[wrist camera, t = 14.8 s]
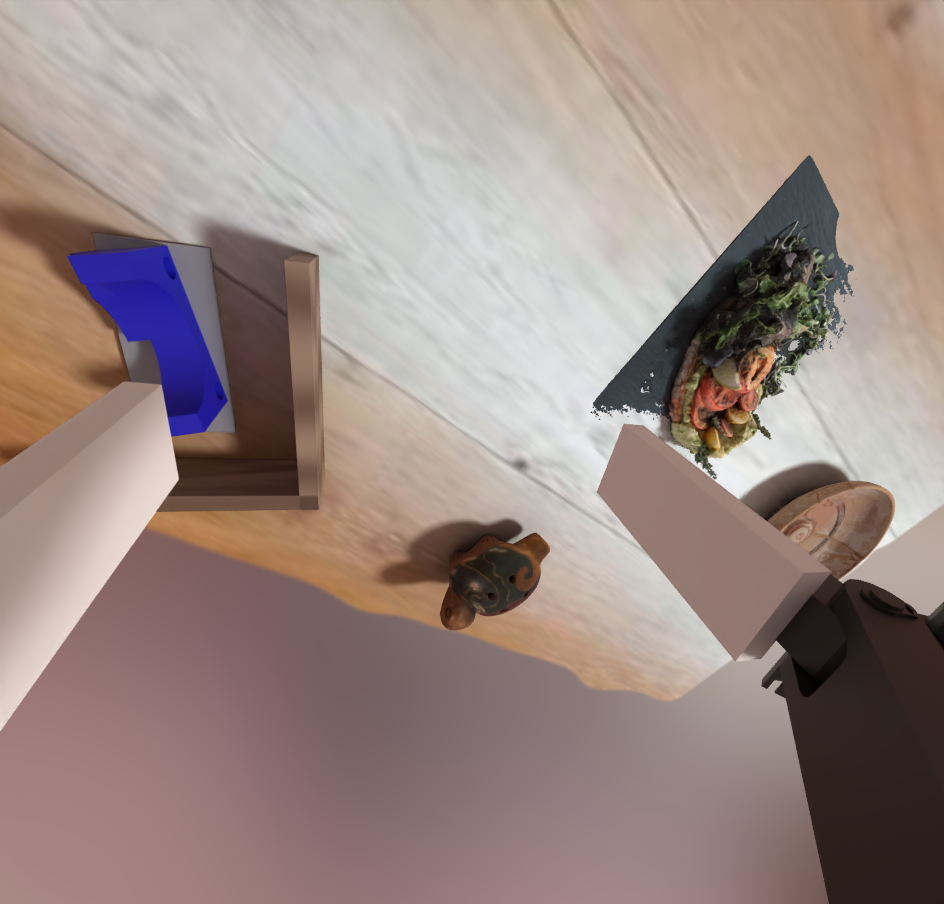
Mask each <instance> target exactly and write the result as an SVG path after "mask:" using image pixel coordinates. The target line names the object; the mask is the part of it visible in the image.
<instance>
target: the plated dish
mask: <svg viewBox="0 0 944 904" xmlns="http://www.w3.org/2000/svg"><path fill="white" fill-rule="evenodd" d="M838 218H839V213H838V210H837V208H836V206H835V204H834V203H833V200H832V198H831V196H830V193H829V192H828V190H827V187H826V185H825V183H824V181H823V179H822V177H821V175H820V173H819V170H818V168H817V166H816V165H815V162H814V161H813V159H812V158H811V156H810V155H809V156H808V157H807V158H806V159H805V160H804V161H803V162H802V163H801V164H800V165H799V166H798V168H797V169H796V170H795V171H794V172H793V173H792V175H791V176H790V177H789V178H788V179H787V180H786V181H785V182H784V184H783V185H782V186H781V187H780V188H779V189H778V190H777V192H776V193H775V194H774V195H773V196H772V197H771V199H770V200H769V201H768V202H767V203H766V204H765V206H763V207H762V209H761V210H760V211H759V212H758V213H757V214H756V216H755V217H754V218H753V219H752V220H751V221H750V223H749V224H748V225H747V226H746V227H745V228H744V229H743V230H742V232H741V233H740V234H739V235H738V236H737V237H736V239H735V240H734V241H733V242H732V243H731V244H730V245H729V247H728V248H727V249H726V250H725V251H724V252H723V253H722V255H720V257H719V258H718V259H717V260H716V262H715V263H714V264H713V265H712V266H711V267H710V269H709V270H708V271H707V272H706V273H705V274H704V275H703V276H702V277H701V279H700V280H699V281H698V282H697V283H696V284H695V286H694V287H693V288H692V289H691V290H690V291H689V292H688V293H687V295H686V296H685V297H684V298H683V299H682V300H681V302H680V303H679V304H678V305H677V306H676V307H675V308H674V310H673V311H672V312H671V313H670V314H669V315H668V316H667V318H666V319H665V320H664V321H663V322H662V323H661V325H660V326H659V327H658V328H657V329H656V330H655V331H654V332H653V334H652V335H651V336H650V337H649V338H648V340H647V341H646V342H645V343H644V344H643V345H642V346H641V348H640V349H639V350H638V351H637V352H636V353H635V355H634V356H633V357H632V358H631V359H630V360H629V362H627V364H626V365H625V366H624V367H623V368H622V369H621V370H620V372H619V373H618V374H617V375H616V376H615V377H614V379H613V380H612V381H611V382H610V383H609V384H608V385H607V387H606V388H605V389H604V390H603V392H601V394H600V395H599V396H598V397H597V398H596V400H595V402H593V404H594V405H593V406H594V407H595V408H597V409H595V410H598V411H600V410H601V411H602V412H603V410H604V412H605V413H607V410H608V411H610V410H616V409H617V411H618V412H619V410H620V409H622V408H624V407H623V405H625V404H627V406H629V407H630V410H631V407H632V408H635V409H636V410H635V411H636V412H637V413H640V412H642V410H643V411H644V413H645V411H646V410H648V411H650V413H652V412H653V413H655V414H656V413H657V414H658V415H660V414H662V415H663V416H665V415H666V416H665V417H667V419H669V417H668V415H669V416H670V420H671V428H670V429H671V430H670V431H671V433H672V435H673V438H674V439H676V441H677V442H679V443H681V445H683V446H684V447H686V448H687V449H690V453H691V454H694V453H695V461H697V462H696V463H698V462H700V463H702V464H703V465H702V464H701V466H702V467H703V469H704V467H705V469H707V470H708V472H709V473H710V475H711V476H712V475H715V477H714V476H713V478H714V479H717V477H716V474H715V473H714V471H712V469H710V468H711V467H713V466H712V465H710V463H708V458H711V457H712V458H723V457H724V456H725V455H724V454H727V455H728V454H729V452H730V451H731V450H732V449H734V448H737V447H739V446H741V445H743V443H744V442H746V441H747V440H748V439H749V438H751V437H753V436H755V433H756V432H757V429H758V430H759V429H760V431H761V433H763V434H764V436H766V437H767V438H769V439H771V438H770V433H769V432H768V430H766V429H765V427H764V426H762V427H761V426H760V420H758V419H759V417H758V415H757V414H755V415H754V414H753V412H754V411H755V410H756V409H757V408H758V406H759V404H761V401H762V399H764V398H765V397H766V398H767V396H768V395H771V396H773V395H777V394H779V393H781V392H784V391H783V390H782V389H780V385H781V384H779V383H778V380H779V381H781V382H782V383H783V384H784V382H783V381H782V380H781V378H780V377H782V376H781V375H780V374H779V373H780V372H782V374H783V373H784V372H785V373H789V374H790V373H791V375H795V373H796V372H797V369H798V360H799V359H801V357H802V356H803V355H804V354H805V353H806V354H807V355H810V354H811V353H812V350H813V349H814V348H815V347H817V348H818V349H819V346H820V347H821V348H822V349H823V345H822V343H823V344H824V340H825V339H826V336H827V333H828V330H827V329H824V328H825V326H826V325H828V328H829V329H830V330H831V331H833V330H834V328H835V329H836V327H835V326H836V323H837V322H838V323H837V324H839V321H840V317H841V316H840V315H839V313H838V312H839V311H838V307H836V306H835V305H834V302H833V301H834V299H833V298H834V297H833V296H834V293H836V290H838V288H840V289H841V290H840V292H839V293H840V295H842V294H848V293H847V292H846V291H845V289H844V285H845V284H846V285H847V286H846V287H848V289H847V290H849V291H850V290H852V289H851V288H849V287H850V284H848V282H847V281H848V273H849V271H852V270H853V266H851V265H848V271H847V268H846V267H845V265H846V263H844V262H843V260H842V258H841V259H840V258H839V256H838V252H837V248H836V239H835V235H836V226H837V220H838ZM781 259H782V261H781V264H780V266H781V267H782V271H781V272H780V273H779V274H778V276H776V277H775V275H776V274H774V272H775V267H776V265H777V261H778V260H781ZM839 273H840V274H839ZM841 276H842V277H841ZM840 277H841V278H840ZM841 280H845V282H843V284H842V282H841ZM838 282H839V283H838ZM837 287H838V288H837ZM849 293H850V294H852V293H853V291H850V292H849ZM836 294H837V293H836ZM851 296H852V295H851ZM844 298H845V297H844ZM843 302H845V300H844V301H843ZM825 304H827V305H826V307H824V305H825ZM829 307H830V308H831V309H830V308H829ZM832 308H835V312H834V311H833V309H832ZM836 308H837V309H836ZM692 310H693V311H692ZM831 311H832V312H831ZM833 313H834V315H832V314H833ZM835 313H836V314H835ZM830 314H831V315H830ZM835 316H836V317H835ZM839 316H840V317H839ZM830 318H832V319H834V318H835V319H836V321H837V322H836V321H835V320H833V321H832V322H831V323H832V327H831V325H830V324H828V322H829V319H830ZM843 322H844V324H846V322H845V319H844V321H843ZM826 330H827V331H826ZM842 330H843V327H842V328H841V329H840V332H841V331H842ZM837 332H838V331H837ZM837 332H835V331H834V334H835V333H836V334H837ZM843 333H844V332H843ZM839 334H840V333H838V335H839ZM819 335H822V337H821V338H823V339H822V340H821V341H818V340H819V337H820V336H819ZM838 335H837V336H838ZM840 336H841V335H840ZM840 336H839V337H838V339H839V338H840ZM800 337H802V338H800ZM801 339H802V340H801ZM793 340H799V341H800V343H798V345H799V346H798V348H796V349H795V350H794V351H795V352H794V351H788V347H789V346H790V344H791V342H792V341H793ZM799 341H798V342H799ZM826 341H827V340H826ZM830 342H831V341H830ZM820 343H821V345H820ZM837 343H838V342H837ZM824 347H825V346H824ZM789 348H790V347H789ZM830 349H832V348H831V345H830ZM781 350H782V351H783V352H782V351H781ZM814 350H815V351H816V350H817V349H816V348H815V349H814ZM823 350H824V349H823ZM774 352H776V355H778V354H780V355H781V356H782V355H783V356H785V357H786V359H785V360H784V361H783V363H781V361H782V357H779V358H777V360H775V362H774V363H773V361H774ZM816 352H817V351H816ZM820 355H821V354H820ZM775 359H776V358H775ZM799 365H800V364H799ZM771 366H772V369H771ZM654 368H655V369H654ZM789 368H790V369H792V370H791V371H788V370H789ZM652 372H653V375H654V376H653V377H652V376H651V375H650V374H651V373H652ZM767 373H768V374H767ZM766 374H767V375H766ZM765 375H766V377H765ZM645 381H646V383H645ZM769 382H770V383H769ZM670 383H671V384H670ZM770 385H771V386H770ZM784 385H785V384H784ZM648 386H650V387H649V388H647V387H648ZM768 386H770V388H768ZM642 387H643V390H644V391H643V390H642V391H643V392H645V391H649V392H650V393H649V392H646V393H641V389H642ZM785 387H786V385H785ZM648 389H649V390H648ZM648 393H649V394H648ZM655 402H656V403H655ZM655 404H658V406H656V405H655ZM661 404H662V405H661ZM663 404H666V405H664V406H665V407H664V406H663ZM601 405H603V407H602V408H601ZM631 405H632V406H631ZM659 405H661V406H660V407H659ZM604 406H606V410H605V409H604V408H605V407H604ZM611 406H612V407H613V408H611ZM627 406H626V407H627ZM662 406H663V407H662ZM594 407H593V408H594ZM595 410H594V412H593V413H596V411H595ZM640 410H641V411H640ZM660 410H661V411H660ZM620 411H621V410H620ZM622 411H626V412H628V408H627V409H622ZM622 411H621V413H622V414H623V412H622ZM613 412H614V411H613ZM591 413H592V412H591ZM593 413H592V414H593ZM668 413H669V414H668ZM608 414H610V412H609V413H608ZM646 414H647V413H646ZM657 414H656V416H657ZM596 415H598V413H596ZM596 415H595V417H596ZM611 415H612V414H610V416H611ZM649 415H650V414H649ZM598 416H599V415H598ZM628 417H629V416H628ZM657 418H658V417H657ZM599 420H600V419H599ZM653 420H654V418H653ZM707 463H708V464H707ZM704 464H705V465H704ZM708 465H709V466H708ZM709 470H710V471H709ZM708 472H707V473H708ZM709 473H708V474H709Z"/></svg>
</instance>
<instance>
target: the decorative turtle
mask: <svg viewBox="0 0 944 904" xmlns="http://www.w3.org/2000/svg"><path fill="white" fill-rule="evenodd" d="M549 552H550V547H549V545H548V544H547V543H546V542H545V540H544V539H543V538H542V537H541V536H540V535H538V534H537V533H533V534H530V535H528V536H527V537H525V538H523V539H521V540H520V541H518V542H516V543H514V544H510V543H506V542H501V541H499V540H497V539H496V538H495V537H494V536H492V535H484V536H483V537H482V538H481V539H480V540H479V541H478V542H477V544H476V545H475V546H474V547H473V548H472V549H471V550H469V551H468V552H467V553H466V552H462V551H456V552H454V553H453V554H452V555H451V557H450V562H449V582H450V583H449V587H448V590H447V592H446V594H445V597H444V600H443V603H442V607H441V611H440V617H441V621H442V624H443V625H444V626H445V627H446V628H447V629H449V630H461V629H464V628H466V627H468V626H469V625H471V624H472V622H473V621H474V618H475V614H476V613H478V614H480V615H483V616H495V615H500V614H503V613H506V612H508V611H510V610H512V609H514V608H516V607H517V606H518V605H520V604H521V603H523V602H524V601H525V600H526V599H527V598H528V597H529V596H530V595H531V594H532V593H533V591H534V590H535V588H536V587H537V585H538V582H539V579H540V575H541V569H540V564H541V562H542V560H543V559H544V558H545V557H546V555H547V554H548V553H549Z"/></svg>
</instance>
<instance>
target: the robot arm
mask: <svg viewBox="0 0 944 904" xmlns="http://www.w3.org/2000/svg"><path fill="white" fill-rule="evenodd" d="M178 480H179V477H178V472H177V466H176V461H175V455H174V450H173V444H172V439H171V433H170V428H169V423H168V417H167V412H166V406H165V401H164V395H163V390H162V385H160V384H148V383H136V382H122V383H121V384H119V385H118V386H117V387H115V388H114V389H112V390H111V391H109V392H108V393H106V394H105V395H104V396H102V397H101V398H99V399H98V400H96V401H95V402H93V403H92V404H91V405H89V406H88V407H86V408H85V409H83V410H82V411H80V412H79V413H78V414H76V415H75V416H73V417H72V418H70V419H69V420H67V421H66V422H64V423H63V424H62V425H60V426H59V427H57V428H56V429H54V430H53V431H51V432H50V433H49V434H47V435H46V436H44V437H43V438H41V439H40V440H38V441H37V442H36V443H34V444H33V445H31V446H30V447H28V448H27V449H25V450H24V451H23V452H21V453H20V454H18V455H17V456H15V457H14V458H12V459H11V460H10V461H8V462H7V463H5V464H4V465H2V466H1V467H0V731H1V729H2V728H3V726H4V725H5V724H6V722H7V721H8V719H9V718H10V716H11V715H12V714H13V712H14V711H15V710H16V708H17V707H18V705H19V704H20V702H21V701H22V700H23V698H24V697H25V695H26V694H27V693H28V691H29V690H30V688H31V687H32V686H33V684H34V683H35V681H36V680H37V679H38V677H39V676H40V674H41V673H42V671H43V670H44V669H45V667H46V666H47V664H48V663H49V662H50V660H51V659H52V657H53V656H54V655H55V653H56V652H57V650H58V649H59V647H60V646H61V645H62V643H63V642H64V640H65V639H66V638H67V636H68V635H69V633H70V632H71V630H72V629H73V628H74V626H75V625H76V623H77V622H78V621H79V619H80V618H81V617H82V615H83V614H84V612H85V611H86V610H87V608H88V607H89V605H90V604H91V602H92V601H93V600H94V598H95V597H96V595H97V594H98V593H99V591H100V590H101V588H102V587H103V586H104V584H105V583H106V581H107V580H108V578H109V577H110V576H111V574H112V573H113V571H114V570H115V569H116V567H117V566H118V564H119V563H120V562H121V560H122V559H123V557H124V556H125V555H126V553H127V552H128V550H129V549H130V547H131V546H132V545H133V543H134V542H135V540H136V539H137V538H138V536H139V535H140V533H141V532H142V531H143V529H144V528H145V526H146V525H147V524H148V522H149V521H150V519H151V518H152V517H153V515H154V514H155V512H156V511H157V510H158V508H159V507H160V505H161V504H162V502H163V501H164V500H165V498H166V497H167V495H168V494H169V493H170V491H171V490H172V488H173V487H174V486H175V484H176V483H177V481H178ZM597 493H598V494H599V495H600V496H601V498H602V499H603V500H604V501H605V503H606V504H607V505H608V506H609V507H610V509H611V510H612V511H613V512H614V514H615V515H616V516H617V517H618V518H619V520H620V521H621V522H622V523H623V525H624V526H625V527H626V528H627V529H628V531H629V532H630V533H631V534H632V536H633V537H634V538H635V539H636V540H637V542H638V543H639V544H640V545H641V547H642V548H643V549H644V550H645V551H646V553H647V554H648V555H649V556H650V558H651V559H652V560H653V561H654V562H655V564H656V565H657V566H658V567H659V569H660V570H661V571H662V572H663V573H664V575H665V576H666V577H667V578H668V580H669V581H670V582H671V583H672V584H673V586H674V587H675V588H676V589H677V591H678V592H679V593H680V594H681V595H682V597H683V598H684V599H685V600H686V602H687V603H688V604H689V605H690V606H691V608H692V609H693V610H694V611H695V613H696V614H697V615H698V616H699V617H700V619H701V620H702V621H703V622H704V624H705V625H706V626H707V627H708V629H709V630H710V631H711V632H712V633H713V635H714V636H715V637H716V638H717V640H718V641H719V642H720V643H721V644H722V646H723V647H724V648H725V649H726V651H727V652H728V653H729V654H730V655H731V657H732V658H733V659H734V660H735V661H745V660H753V659H761V658H762V657H763V656H764V655H765V653H766V652H767V651H768V650H769V649H770V647H771V646H772V645H773V644H774V642H775V641H777V642H778V643H779V644H780V645H781V646H782V647H783V648H784V649H785V650H786V652H785V653H784V654H783V656H782V657H781V658H780V659H779V660H778V661H777V663H776V664H775V665H774V666H773V667H772V668H771V670H770V671H769V672H768V673H767V675H766V676H765V677H764V678H763V680H762V687H764V688H766V689H767V688H768V687H769V686H770V685H771V684H772V682H773V681H774V680H778V681H782V683H781V685H780V686H779V687H778V688H777V689H776V690H775V693H776V694H778V695H780V696H782V697H784V698H786V702H787V706H788V711H789V715H790V721H791V725H792V730H793V735H794V740H795V744H796V749H797V754H798V759H799V763H800V768H801V773H802V778H803V782H804V787H805V791H806V797H807V801H808V806H809V810H810V815H811V820H812V825H813V830H814V835H815V839H816V844H817V849H818V854H819V858H820V863H821V868H822V872H823V877H824V882H825V887H826V891H827V896H828V901H829V904H944V602H943V603H942V604H941V605H940V606H939V607H938V608H937V609H936V610H935V611H934V612H933V613H932V614H931V615H930V616H925V615H921V614H918V613H917V612H916V611H915V610H914V608H913V607H912V606H910V605H908V604H907V603H905V602H904V601H902V600H901V599H899V598H898V597H896V596H895V595H893V594H892V593H890V592H888V591H886V590H884V589H882V588H880V587H878V586H875V585H873V584H871V583H868V582H864V581H861V580H854V579H849V580H847V581H846V582H844V583H841V582H840V581H839V580H837V579H836V578H835V577H834V576H832V575H831V574H830V573H831V572H832V571H830V570H829V569H828V568H826V567H825V566H824V565H823V564H821V563H820V562H819V561H817V560H816V559H815V558H814V557H812V556H811V555H810V554H808V553H807V552H806V551H805V550H803V549H802V548H801V547H799V546H798V545H797V544H795V543H794V542H793V541H792V540H790V539H789V538H788V537H786V536H785V535H784V534H783V533H781V532H780V531H779V530H777V529H776V528H775V527H774V526H772V525H771V524H770V523H768V522H767V521H766V520H765V519H763V518H762V517H761V516H759V515H758V514H757V513H755V512H754V511H753V510H752V509H750V508H749V507H748V506H746V505H745V504H744V503H743V502H741V501H740V500H739V499H737V498H736V497H735V496H734V495H732V494H731V493H730V492H728V491H727V490H726V489H725V488H723V487H722V486H721V485H719V484H718V483H717V482H715V481H714V480H713V479H712V478H710V477H709V476H708V475H706V474H705V473H704V472H703V471H701V470H700V469H699V468H697V467H696V466H695V465H694V464H692V463H691V462H690V461H688V460H687V459H686V458H685V457H683V456H682V455H681V454H679V453H678V452H677V451H675V450H674V449H673V448H672V447H670V446H669V445H668V444H666V443H665V442H664V441H663V440H661V439H660V438H659V437H657V436H656V435H655V434H654V433H652V432H651V431H650V430H648V429H647V428H646V427H645V426H643V425H631V424H624V425H623V427H622V430H621V432H620V435H619V437H618V440H617V442H616V445H615V447H614V450H613V452H612V455H611V457H610V460H609V463H608V465H607V468H606V470H605V473H604V475H603V478H602V480H601V483H600V485H599V488H598V490H597Z"/></svg>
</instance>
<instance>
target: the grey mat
mask: <svg viewBox="0 0 944 904" xmlns="http://www.w3.org/2000/svg"><path fill="white" fill-rule="evenodd" d="M92 235H93V238H94V242H95V246H96V250H109V249H124V248H138V247H153V246H168V249H169V251H170V254H171V256H172V259H173V261H174V264H175V267H176V269H177V272H178V274H179V277H180V279H181V282H182V284H183V287H184V290H185V292H186V295H187V297H188V300H189V302H190V305H191V307H192V310H193V312H194V315H195V318H196V320H197V323H198V325H199V328H200V330H201V333H202V335H203V338H204V340H205V343H206V346H207V348H208V351H209V353H210V356H211V358H212V361H213V363H214V366H215V369H216V371H217V374H218V376H219V379H220V381H221V384H222V386H223V389H224V391H225V394H226V397H227V399H228V402H227V403H226V404H225V406H224V407H223V408H222V410H221V411H220V412H219V414H218V415H217V416H216V418H215V419H214V420H213V422H212V423H211V424H210V426H209V427H208V428H207V430H206V431H205V432H233V433H235V432H236V426H235V419H234V412H233V405H232V398H231V391H230V384H229V377H228V370H227V363H226V356H225V349H224V342H223V335H222V328H221V321H220V314H219V307H218V299H217V292H216V285H215V278H214V271H213V264H212V257H211V250H210V248H206V247H199V246H191V245H184V244H177V243H169V242H162V241H154V240H147V239H139V238H132V237H125V236H117V235H110V234H102V233H92ZM115 323H116V322H115ZM116 326H117V330H118V334H119V338H120V342H121V345H122V349H123V353H124V357H125V361H126V365H127V368H128V372H129V376H130V380H131V382H136V383H148V384H160V385H162V382H161V373H160V368H159V363H158V360H157V356H156V353H155V350H154V348H153V345H152V343H151V340H143V341H133V342H128V341H127V339H126V337H125V336H124V334H123V332H122V331H121V329H120V327H119V326H118V324H117V323H116Z"/></svg>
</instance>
